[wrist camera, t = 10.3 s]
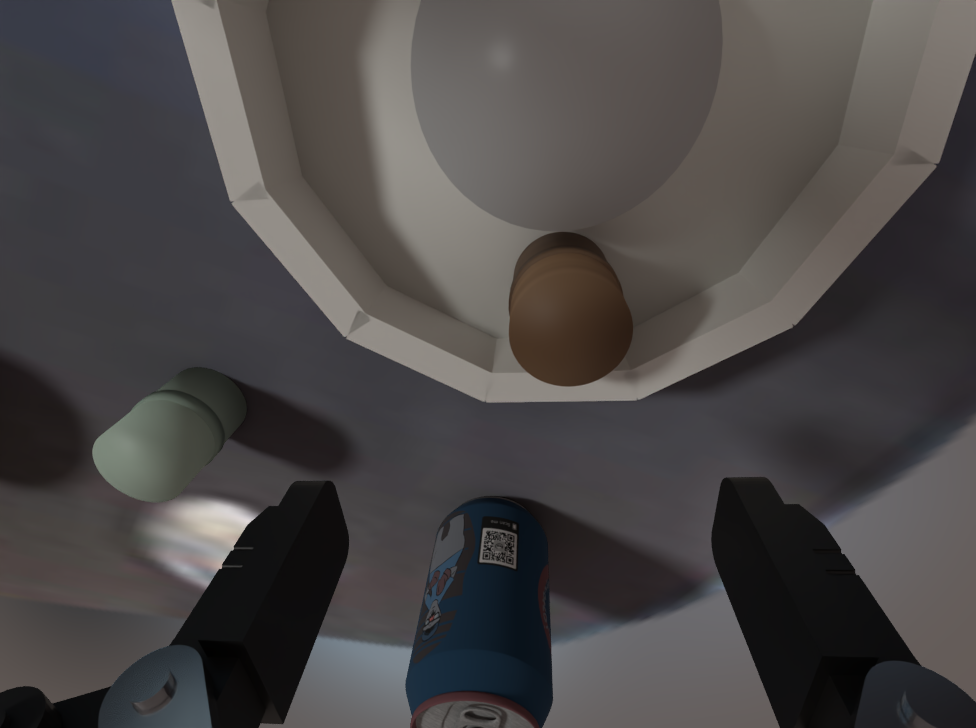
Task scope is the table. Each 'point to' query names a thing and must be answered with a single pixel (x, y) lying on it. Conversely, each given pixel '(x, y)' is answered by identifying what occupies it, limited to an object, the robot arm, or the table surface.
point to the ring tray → (670, 252)
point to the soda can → (484, 623)
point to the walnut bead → (567, 311)
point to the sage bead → (170, 435)
